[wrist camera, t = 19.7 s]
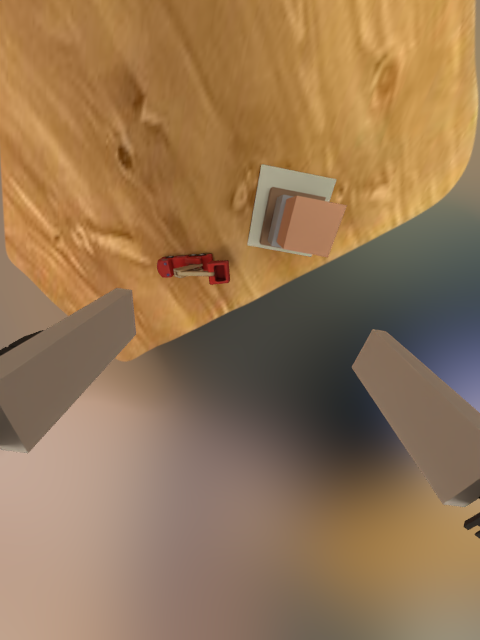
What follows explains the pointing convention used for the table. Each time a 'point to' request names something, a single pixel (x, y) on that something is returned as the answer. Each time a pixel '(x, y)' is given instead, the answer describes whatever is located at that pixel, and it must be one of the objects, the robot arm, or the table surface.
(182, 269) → the toy fire truck
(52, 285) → the table surface
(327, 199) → the plate
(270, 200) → the walnut base
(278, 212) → the slate brick
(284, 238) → the terracotta brick
